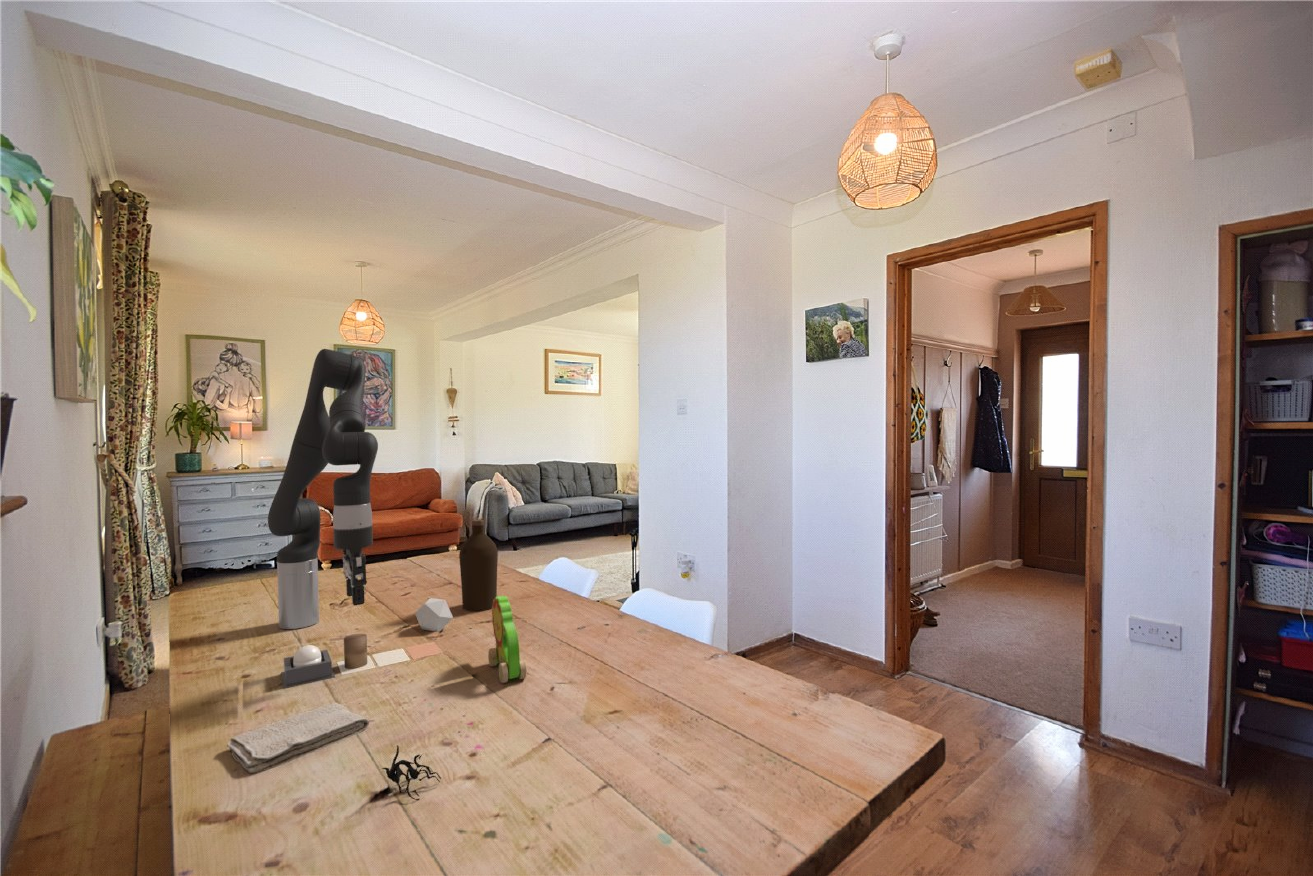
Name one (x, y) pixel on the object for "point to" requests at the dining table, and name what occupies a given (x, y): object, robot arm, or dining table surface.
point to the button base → (307, 671)
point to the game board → (394, 657)
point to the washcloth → (295, 736)
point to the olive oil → (478, 569)
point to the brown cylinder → (355, 651)
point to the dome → (306, 656)
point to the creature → (413, 772)
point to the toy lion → (505, 642)
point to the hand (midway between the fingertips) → (355, 600)
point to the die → (434, 615)
